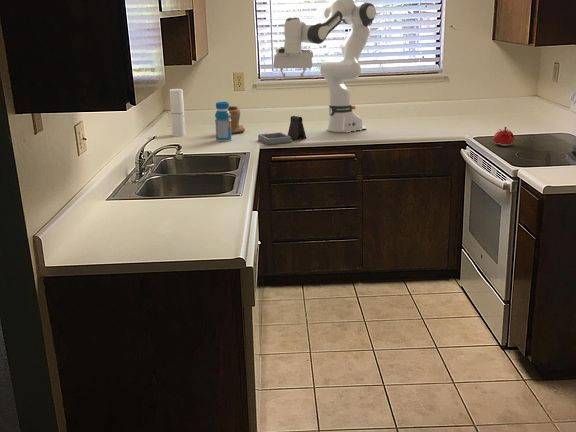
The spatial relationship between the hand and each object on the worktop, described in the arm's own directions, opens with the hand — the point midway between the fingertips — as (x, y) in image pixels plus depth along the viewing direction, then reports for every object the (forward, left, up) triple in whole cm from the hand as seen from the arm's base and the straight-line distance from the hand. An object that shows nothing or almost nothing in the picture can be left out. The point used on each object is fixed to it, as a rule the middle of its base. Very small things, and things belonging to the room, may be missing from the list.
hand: (292, 76), depth 334 cm
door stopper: (0, +4, -32) cm, 33 cm away
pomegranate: (-85, +66, -32) cm, 112 cm away
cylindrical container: (+54, -35, -32) cm, 72 cm away
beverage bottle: (+36, -10, -32) cm, 49 cm away
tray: (+13, +5, -32) cm, 35 cm away
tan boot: (+25, -27, -32) cm, 49 cm away
